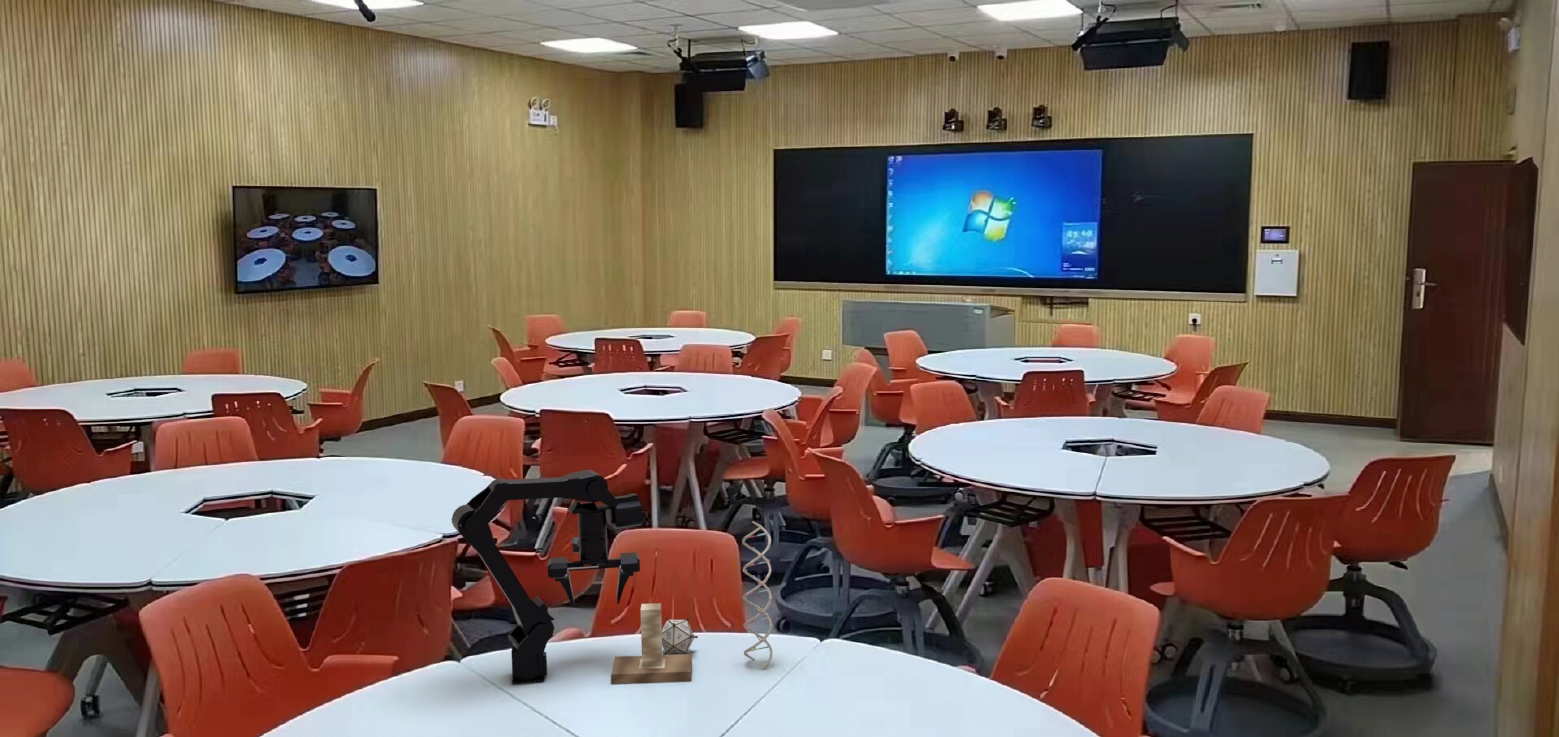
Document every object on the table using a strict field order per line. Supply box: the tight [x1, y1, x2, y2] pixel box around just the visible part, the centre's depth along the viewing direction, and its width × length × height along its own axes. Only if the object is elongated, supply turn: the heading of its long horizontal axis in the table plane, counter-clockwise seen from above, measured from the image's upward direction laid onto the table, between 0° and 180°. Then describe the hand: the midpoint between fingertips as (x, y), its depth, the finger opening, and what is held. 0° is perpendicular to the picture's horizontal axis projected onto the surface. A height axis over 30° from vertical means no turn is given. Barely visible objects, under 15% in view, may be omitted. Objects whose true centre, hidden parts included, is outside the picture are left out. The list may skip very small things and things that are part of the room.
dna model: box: [741, 520, 774, 670], centre depth 241 cm, size 7×6×30 cm
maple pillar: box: [640, 602, 663, 667], centre depth 238 cm, size 4×4×12 cm
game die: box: [662, 615, 699, 655], centre depth 250 cm, size 9×8×10 cm
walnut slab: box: [610, 653, 693, 685], centre depth 239 cm, size 16×10×2 cm, turn 93°
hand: (595, 604), depth 243 cm, fingers open, 9 cm apart
